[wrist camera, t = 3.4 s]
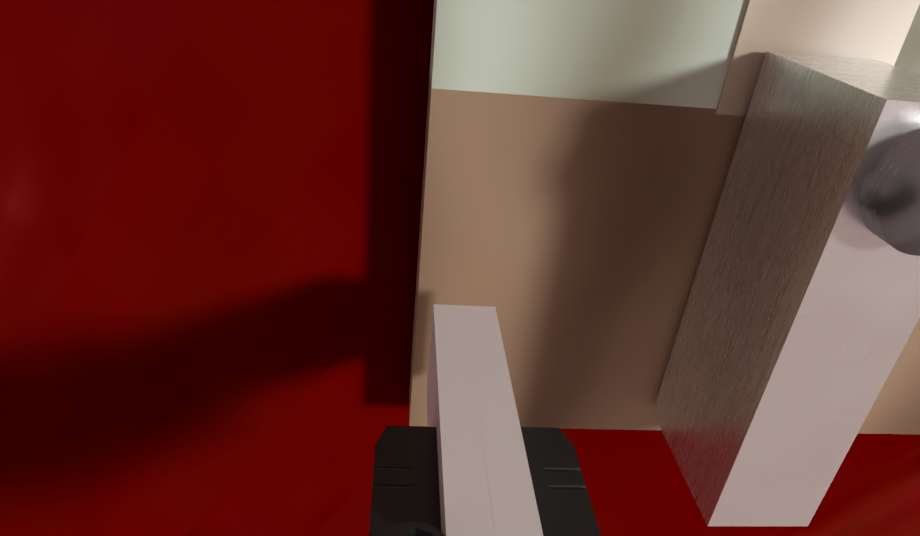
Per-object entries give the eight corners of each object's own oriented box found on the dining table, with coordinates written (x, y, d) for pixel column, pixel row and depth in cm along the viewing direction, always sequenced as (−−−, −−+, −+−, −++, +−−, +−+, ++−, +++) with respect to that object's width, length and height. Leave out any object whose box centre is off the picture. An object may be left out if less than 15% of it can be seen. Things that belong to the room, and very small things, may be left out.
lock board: (409, 392, 20) (409, 543, 15) (469, -550, 10) (520, -938, 6) (1005, 405, 22) (1166, 541, 18) (1522, -364, 13) (2204, -528, 8)
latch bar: (762, 48, 14) (912, 109, 10) (871, 58, 14) (1063, 121, 10) (650, 407, 19) (718, 547, 15) (733, 409, 19) (821, 547, 15)
